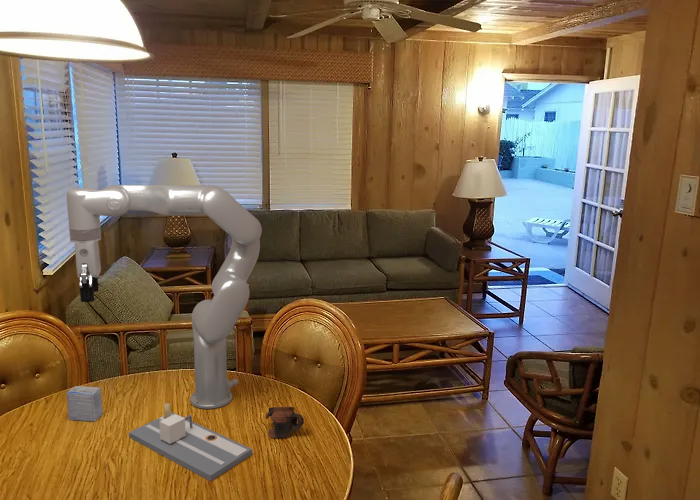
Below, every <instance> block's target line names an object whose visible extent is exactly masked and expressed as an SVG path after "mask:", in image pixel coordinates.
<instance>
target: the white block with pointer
mask: <svg viewBox="0 0 700 500" xmlns="http://www.w3.org/2000/svg"><path fill="white" fill-rule="evenodd" d="M176 414H177V413H175V414H174V415H172V416H170V417H168V418H166V419H164V420H161V421H159V424H160V439H161V440H163V441H165V442H167V443H169V444H171V443H173V442H175V441H177V440H178V439H180V438H182V437H184V436H186V432H185V420H187V419H188V420H190V428H192V422H193V417H192V415H191V414H188V415H187V416H182V417H181V415H179V414H177V415H176ZM183 417H184V418H183Z"/></svg>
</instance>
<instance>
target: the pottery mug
mask: <svg viewBox="0 0 700 500" xmlns="http://www.w3.org/2000/svg"><path fill="white" fill-rule="evenodd" d="M269 417H270V421H271V422H272V423H273V428H270V429H268V435H269V438H270V439H271V438H272V439H274V438H275V439H290V436H291V432H292V433H293V434H295V433H296V432H297V431H298V430H300V429H301V428H302V427H303V425H304V422H305V420H304V416H303V415H302V414H301V413H296V412H295V407H294V406H272V407H268V412H267V413H266V416H265V419H266V420H267V419H269Z"/></svg>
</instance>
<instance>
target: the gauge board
mask: <svg viewBox="0 0 700 500" xmlns="http://www.w3.org/2000/svg"><path fill="white" fill-rule="evenodd" d="M163 410H164V411H163V412H164V415H161V417H159V418H157V419H154V420H152V421H150V422H147V423H146V424H144V425H141V426H139V427H137V428H135V429H133V430H131V431H129V432H128V438H129V439H131V440H133V441H135V442H137V443H139V444H140V445H142V446H144V447H146V448H148V449H150V450H152V451H153V452H155V453H157V454H159V455H160V456H163V457H165V458H167V459H168V460H171V462H173V463H176V464H178V465H179V466H182V467H183V468H184V469H187V470H188V471H191V472H192V473H195V474H196V475H198V476H200V477H202V478H204V479H206V480H208V481H209V482H212V481H213V480H215V479H216V478H218V477H220V476H221V475H223V474H225V473H226V472H227V471H230V469H232V468H233V467H236V465H239V464H240V463H242V462H243V461H245V460H246V459H248V458H249V457H250V456H252V455H253V449H252V448H250V447H248V446H246V445H244V444H241V443H239V442H238V441H235V440H233V439H231V438H229V437H226V436H225V435H222V434H220V433H218V432H216V431H213V430H212V429H209V428H207V427H205V426H203V425H201V424H199V423H197V422H194V421H192V428H190V419H187V420H185V432H186V436H184V437H182V438H180V439H178V440H177V441H175V442H173V443H171V444H169V443H167V442H165V441H163V440H161V439H160V424H159V421H161V420H164V419H166V418H168V417H170V416H172V415H174V414H176V415H178V414H177V413H175V412H173V411H171V403H170V402H165V403H164V405H163ZM180 416H181V415H180ZM181 417H183V418H184V417H185V416H181Z"/></svg>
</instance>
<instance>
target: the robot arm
mask: <svg viewBox="0 0 700 500" xmlns="http://www.w3.org/2000/svg"><path fill="white" fill-rule="evenodd" d="M66 206H67V216H68V217H67V219H68V230H69V241H70V242H71V243H74V250H75V253H74V254H75V265H76V274H77V275H76V276H77V278H78V279H79V295H80V298H79V299H80V302H81V303H87V302H88V303H91V302H92V303H93V302H94V301H95V294H94V293H95V292H98V291H99V280H98V278H99V276H100V273H101V271H102V266H101V265H102V264H101V257H100V256H101V255H100V248H99V247H100V246H99V241H101V240H102V232H101V231H102V230H101V218H100V217H110V218H111V217H120V216H124V214H125V213H127V212H150V213H151V212H152V213H156V214H159V215H162V216H171V217H172V216H174V217H175V216H176V217H177V216H207V217H209V219H211V221H212V222H214V223H215V224H216V225H217V226H218V227H219V228H220V229H222V230H223V231H225V232H226V234H228V235H229V236H230V237H231V245H230V249H229V252H228V254H227V255H226V258H225V260H224V261H223V263H222V265H221V266H220V268H219V270H218V271H217V274H216V275H215V276H214V278H213V280H212V282H211V291H212V294H213V297H212V298H211V299H204V300H201V301H200V302H198V303H197V304H196V305H195V307H194V308H193V310H192V313H191V328H192V337H193V360H194V361H193V363H194V389H195V391H194V392H193V393H192V394H191V395H190V399H189V401H190V404H191V405H192V406H193V407H195V408H198V409H202V410H203V409H204V410H205V409H206V410H208V409H210V410H211V409H212V410H213V409H217V408H222V407H224V406H226V405H227V404H228V405H229V403H230V402H231V401H232V400H233V392H232V391H231V389H232V387H234V386H236V385H238V384H239V380H238V378H233V379H231V380H230V379H229V378H228V373H227V370H228V369H227V367H228V366H227V337H228V336H229V335H230V334H231V332H232V330H233V329H234V327H235V325H236V324H237V322H238V321H239V318H240V317H241V315H242V313H244V310H245V308H246V306H247V304H248V301H249V298H250V292H251V291H250V287H249V284H248V283H247V281H248V278H249V277H250V275H251V273H252V271H253V269H254V267H255V265H256V263H257V261H258V258H259V256H260V255H259V254H260V249H261V241H260V238H261V235H262V233H263V232H262V231H263V229H262V225H261V223H260V221H259V220H258V219H257V218H256V216H254V215H253V214H252V213H251V212H249V211H248V210H247V209H246V208H245V207H244V206H243V205H242V204H240V202H238V201H237V200H236V199H235V198H234V197H233V196H232V195H231V194H230V193H229V192H228V191H226V190H225V189H224V188H222V187H220V186H217V185H211V184H209V185H208V184H205V185H204V184H203V185H200V184H199V185H198V184H195V185H194V184H192V185H189V184H188V185H185V184H183V185H180V184H178V185H177V184H176V185H173V184H172V185H171V184H167V185H166V184H156V185H155V184H154V185H152V184H151V185H150V184H113V185H108V186H106V187H104V188H103V189H100V190H96V189H95V188H91V187H77V188H76V187H75V188H70V189H69V190H68V191H67V192H66Z"/></svg>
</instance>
